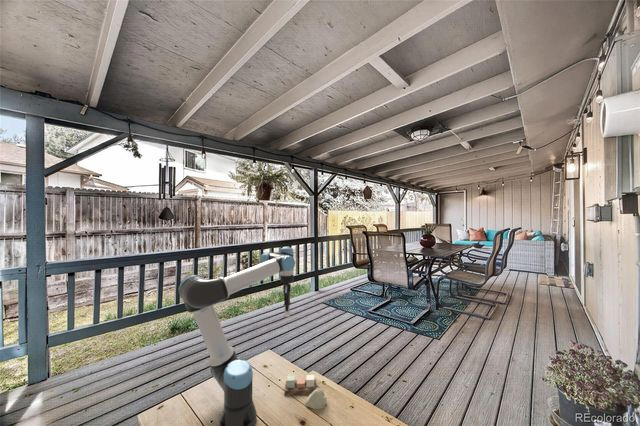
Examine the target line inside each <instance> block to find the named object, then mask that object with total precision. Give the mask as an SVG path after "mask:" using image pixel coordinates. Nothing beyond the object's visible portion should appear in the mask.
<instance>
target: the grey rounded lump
mask: <svg viewBox="0 0 640 426" xmlns="http://www.w3.org/2000/svg"><path fill="white" fill-rule="evenodd" d="M325 396H326V395H325V392H324V391H323V390H322V389H320V388H316V390H314V391H313V392H312V393H311V394H308V397H307V398H306V400H305V405H306V406H307V407H309V408H311V409H315V410H320V409H322V408H324V407H325V406H326V404H327V397H325Z"/></svg>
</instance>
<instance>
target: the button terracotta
mask: <svg viewBox="0 0 640 426" xmlns="http://www.w3.org/2000/svg"><path fill="white" fill-rule="evenodd" d="M296 380H297V388H305V380H306V378H305V377H304V378H296Z"/></svg>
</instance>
